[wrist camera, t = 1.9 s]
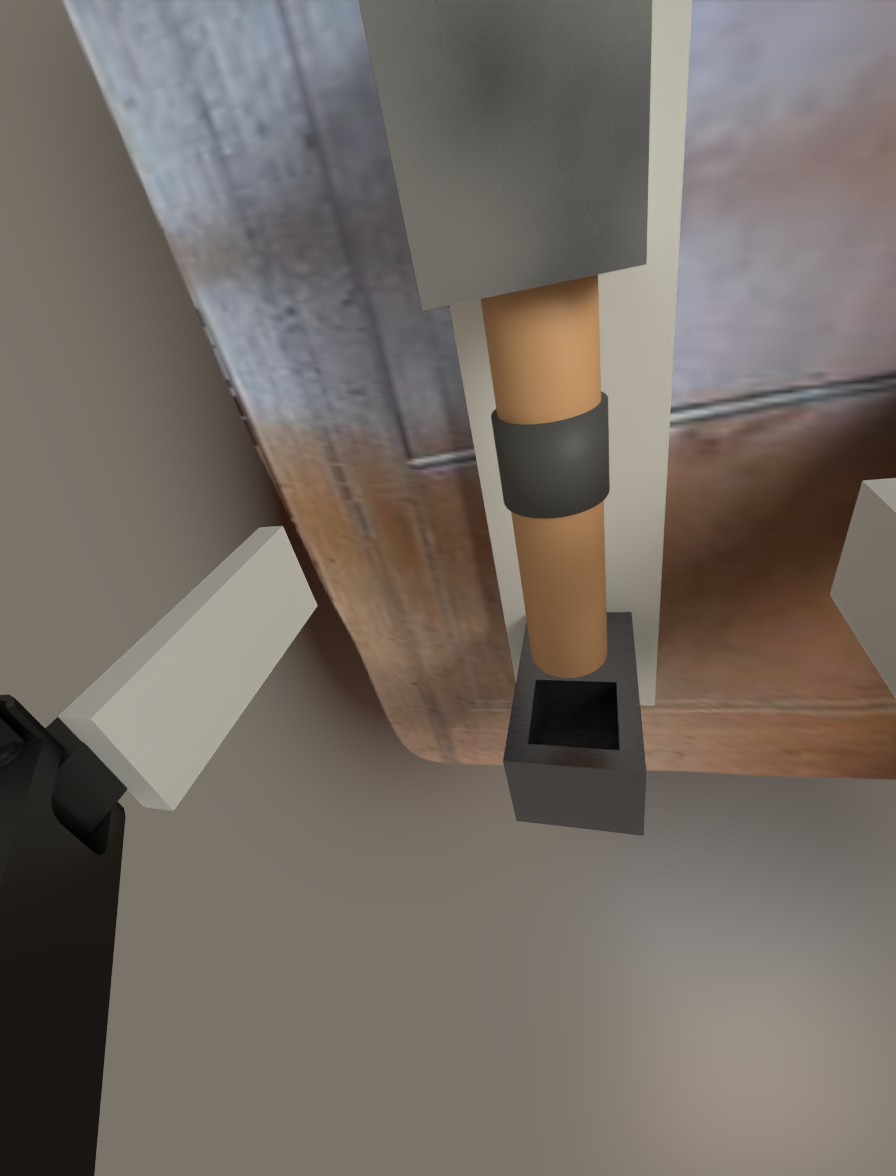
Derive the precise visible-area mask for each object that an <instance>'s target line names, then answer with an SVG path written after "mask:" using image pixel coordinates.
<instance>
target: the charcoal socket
mask: <svg viewBox="0 0 896 1176" xmlns="http://www.w3.org/2000/svg"><path fill="white" fill-rule="evenodd" d="M606 613H607V657H606V660H605V662H604V663H603V664H602V666H601V667H600V668H598V669H597V670H596V671H594V672H592V673H590V674H588V675H585V676H581V677H575V678H562V677H556V676H553V675H550V674H548V673H546V672H544V671H542V670H541V669H540V668H539V667H537V665H536V664H535V663H534V661H533V659H532V654H531V647H530V640H529V633H528V626H527V619H526V625H525V631H524V637H523V643H522V650H521V656H520V662H519V668H518V674H517V680H516V686H515V692H514V698H513V704H512V710H511V716H510V722H509V728H508V735H507V741H506V747H505V753H504V759H503V763H504V767H505V771H506V776H507V780H508V785H509V788H510V793H511V798H512V802H513V807H514V811H515V816H516V820H517V821H524V822H532V823H541V824H550V825H558V826H567V827H575V828H584V829H593V830H600V831H609V832H617V833H626V834H634V835H643V834H644V811H645V788H646V765H645V754H644V743H643V732H642V721H641V710H640V699H639V688H638V677H637V666H636V655H635V644H634V633H633V622H632V612H606Z"/></svg>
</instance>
